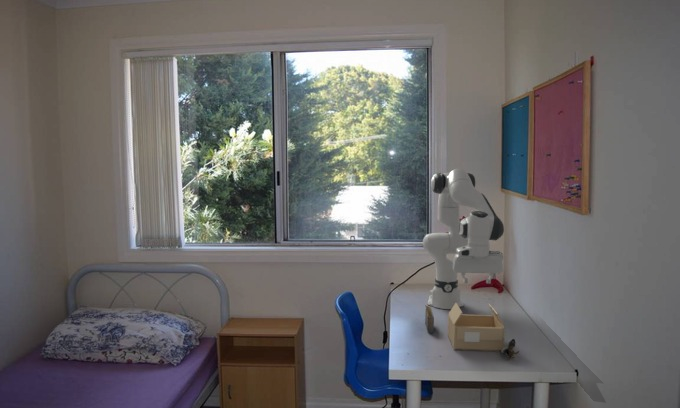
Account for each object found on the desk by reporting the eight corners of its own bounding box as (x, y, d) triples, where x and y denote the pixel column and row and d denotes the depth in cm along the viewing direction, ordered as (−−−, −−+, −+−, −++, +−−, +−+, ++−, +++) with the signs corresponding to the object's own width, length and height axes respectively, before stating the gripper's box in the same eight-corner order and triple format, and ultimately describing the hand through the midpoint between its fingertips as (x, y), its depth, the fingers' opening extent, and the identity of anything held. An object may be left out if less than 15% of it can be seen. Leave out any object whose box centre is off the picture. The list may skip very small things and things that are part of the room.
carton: (447, 335, 212) (448, 313, 211) (493, 337, 211) (494, 315, 210) (454, 350, 196) (455, 327, 195) (503, 352, 195) (504, 328, 194)
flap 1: (448, 313, 210) (455, 302, 209) (449, 314, 210) (456, 303, 209) (453, 324, 197) (461, 312, 196) (454, 325, 197) (462, 313, 196)
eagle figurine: (524, 359, 186) (519, 346, 194) (515, 345, 185) (511, 332, 193) (506, 367, 188) (502, 353, 197) (497, 353, 187) (493, 340, 195)
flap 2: (494, 315, 208) (488, 303, 208) (495, 315, 208) (489, 303, 208) (503, 326, 196) (496, 313, 195) (504, 325, 195) (497, 313, 195)
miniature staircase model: (424, 324, 227) (424, 304, 226) (430, 324, 227) (431, 304, 226) (426, 333, 216) (427, 312, 215) (433, 333, 216) (434, 312, 215)
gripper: (501, 249, 202) (500, 281, 203) (452, 248, 203) (451, 280, 204) (505, 252, 196) (504, 285, 197) (455, 251, 197) (454, 284, 198)
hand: (476, 283), depth 201 cm, fingers open, 8 cm apart
